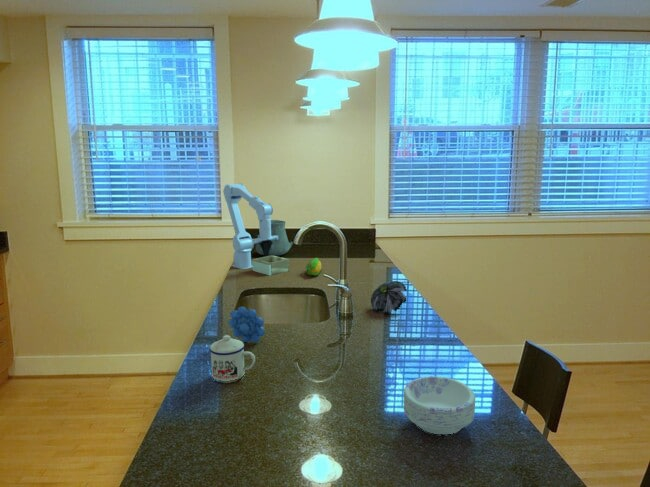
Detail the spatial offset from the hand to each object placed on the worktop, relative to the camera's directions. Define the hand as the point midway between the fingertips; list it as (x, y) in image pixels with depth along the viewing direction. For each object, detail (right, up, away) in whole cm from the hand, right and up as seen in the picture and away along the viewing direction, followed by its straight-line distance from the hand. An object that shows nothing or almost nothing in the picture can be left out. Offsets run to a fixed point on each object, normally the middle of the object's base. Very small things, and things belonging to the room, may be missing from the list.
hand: (266, 255), depth 246 cm
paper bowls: (+54, -34, -136) cm, 151 cm away
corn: (+24, -9, +1) cm, 26 cm away
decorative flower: (+53, -19, -57) cm, 81 cm away
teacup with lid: (+5, -30, -112) cm, 116 cm away
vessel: (0, -1, +45) cm, 45 cm away
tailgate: (-2, -9, 0) cm, 9 cm away
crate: (+2, -8, +4) cm, 9 cm away
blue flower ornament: (+4, -26, -89) cm, 93 cm away
